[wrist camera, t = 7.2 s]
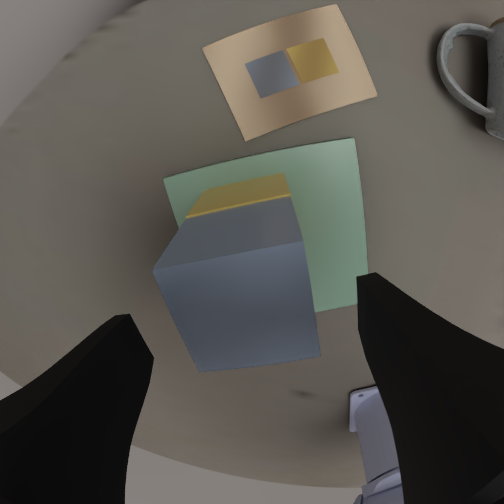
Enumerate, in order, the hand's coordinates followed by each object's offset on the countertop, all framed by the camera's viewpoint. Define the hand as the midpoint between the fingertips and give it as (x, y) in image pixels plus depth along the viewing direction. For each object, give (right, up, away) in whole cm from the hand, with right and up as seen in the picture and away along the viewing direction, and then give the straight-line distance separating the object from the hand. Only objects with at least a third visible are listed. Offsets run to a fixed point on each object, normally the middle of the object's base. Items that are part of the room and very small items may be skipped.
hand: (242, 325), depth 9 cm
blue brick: (0, +2, +4) cm, 5 cm away
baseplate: (+2, +3, +9) cm, 10 cm away
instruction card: (+2, +12, +5) cm, 13 cm away
